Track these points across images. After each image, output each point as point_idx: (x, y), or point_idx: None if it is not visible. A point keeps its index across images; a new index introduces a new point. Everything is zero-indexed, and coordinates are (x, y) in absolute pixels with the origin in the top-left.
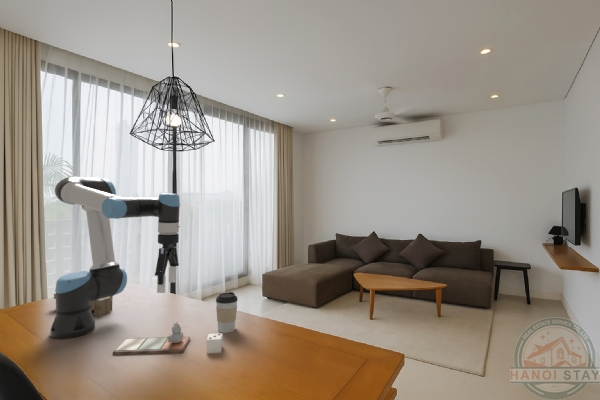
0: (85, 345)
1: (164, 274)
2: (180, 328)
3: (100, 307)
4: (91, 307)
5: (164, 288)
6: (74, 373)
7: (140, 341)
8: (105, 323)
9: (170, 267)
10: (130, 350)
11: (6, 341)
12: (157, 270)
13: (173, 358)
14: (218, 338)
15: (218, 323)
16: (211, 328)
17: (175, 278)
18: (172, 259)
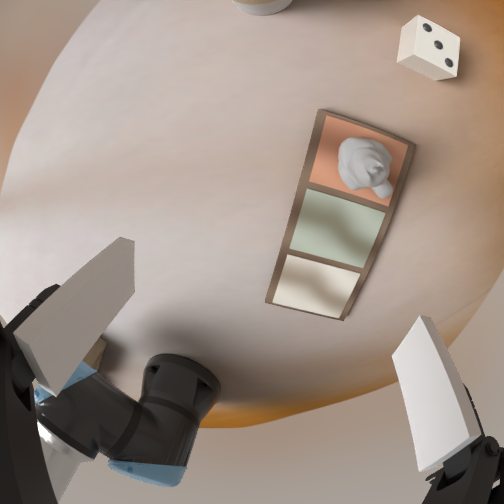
0: (263, 363)
1: (495, 443)
2: (377, 152)
3: (98, 356)
4: (96, 364)
5: (443, 342)
6: (389, 356)
7: (306, 267)
8: (144, 338)
9: (55, 382)
10: (355, 286)
11: (212, 427)
12: (490, 495)
13: (434, 173)
14: (454, 41)
15: (271, 4)
16: (237, 36)
17: (113, 260)
18: (32, 492)
